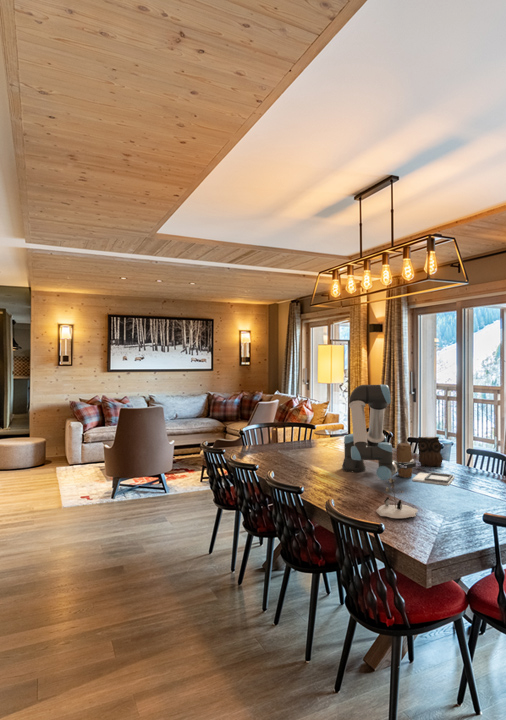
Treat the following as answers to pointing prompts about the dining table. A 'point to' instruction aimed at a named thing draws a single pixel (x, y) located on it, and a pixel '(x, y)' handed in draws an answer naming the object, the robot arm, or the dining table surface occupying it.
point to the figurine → (395, 507)
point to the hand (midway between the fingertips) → (401, 460)
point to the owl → (429, 452)
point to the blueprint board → (434, 478)
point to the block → (404, 458)
